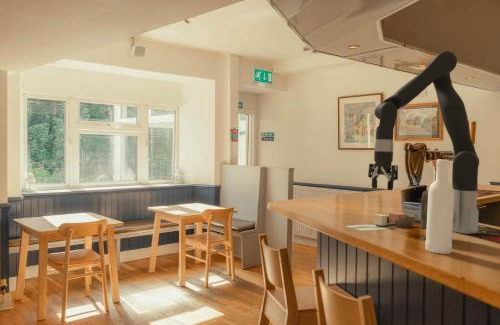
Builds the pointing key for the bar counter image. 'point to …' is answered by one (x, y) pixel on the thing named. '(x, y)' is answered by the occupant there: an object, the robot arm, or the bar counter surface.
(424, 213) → the tabletop clock
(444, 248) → the bottle
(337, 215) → the bar counter surface
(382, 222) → the pull block
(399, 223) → the shelf lane
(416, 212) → the medicine box
